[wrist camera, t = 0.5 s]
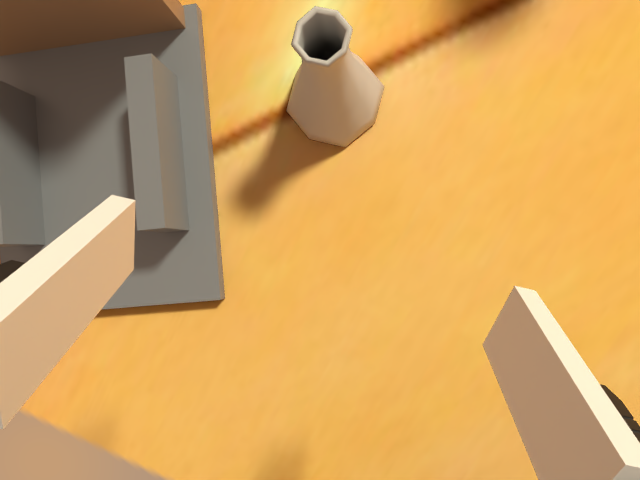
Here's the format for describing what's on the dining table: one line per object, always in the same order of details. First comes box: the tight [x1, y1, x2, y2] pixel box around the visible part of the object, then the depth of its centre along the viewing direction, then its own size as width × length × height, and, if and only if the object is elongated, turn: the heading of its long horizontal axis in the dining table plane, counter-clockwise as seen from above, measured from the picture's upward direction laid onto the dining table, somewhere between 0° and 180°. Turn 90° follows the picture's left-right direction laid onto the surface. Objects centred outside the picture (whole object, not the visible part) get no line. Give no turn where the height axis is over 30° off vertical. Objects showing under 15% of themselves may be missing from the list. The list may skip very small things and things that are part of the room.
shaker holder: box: [0, 0, 225, 309], centre depth 27 cm, size 23×18×15 cm
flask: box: [286, 6, 384, 147], centre depth 28 cm, size 7×7×10 cm
